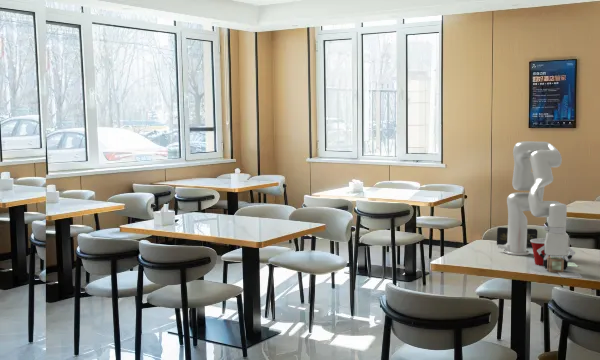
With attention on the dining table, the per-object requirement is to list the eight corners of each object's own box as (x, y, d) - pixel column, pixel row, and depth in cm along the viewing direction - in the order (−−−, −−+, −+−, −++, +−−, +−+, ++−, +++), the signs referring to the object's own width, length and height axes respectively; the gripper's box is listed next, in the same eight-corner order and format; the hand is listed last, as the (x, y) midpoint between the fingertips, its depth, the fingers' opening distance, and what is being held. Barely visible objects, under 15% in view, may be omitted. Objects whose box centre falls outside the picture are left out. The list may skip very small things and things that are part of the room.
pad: (558, 265, 309) (558, 265, 309) (554, 262, 318) (554, 261, 318) (578, 266, 308) (578, 266, 308) (574, 262, 316) (574, 262, 316)
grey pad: (561, 277, 286) (561, 276, 286) (557, 272, 295) (557, 272, 295) (583, 278, 285) (583, 277, 285) (578, 273, 294) (578, 273, 293)
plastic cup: (525, 262, 317) (526, 237, 316) (546, 261, 318) (547, 237, 317) (535, 267, 306) (536, 241, 305) (557, 266, 307) (558, 241, 306)
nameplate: (536, 246, 358) (537, 228, 358) (536, 247, 357) (537, 229, 356) (496, 245, 363) (497, 227, 362) (496, 245, 361) (497, 227, 360)
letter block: (549, 272, 296) (549, 258, 296) (546, 269, 302) (547, 256, 302) (563, 273, 295) (563, 259, 294) (560, 270, 301) (561, 256, 300)
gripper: (538, 230, 295) (536, 269, 296) (579, 232, 292) (577, 271, 293) (535, 228, 302) (533, 265, 304) (575, 229, 299) (573, 267, 300)
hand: (555, 268), depth 298 cm, fingers open, 7 cm apart
